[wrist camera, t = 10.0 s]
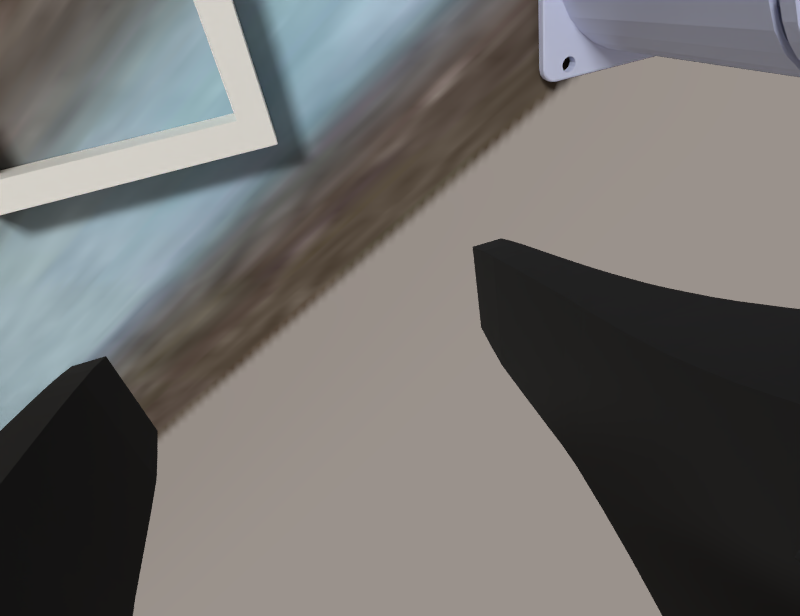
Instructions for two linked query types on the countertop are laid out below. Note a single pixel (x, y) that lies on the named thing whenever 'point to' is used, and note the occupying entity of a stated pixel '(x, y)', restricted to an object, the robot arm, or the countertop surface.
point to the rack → (164, 147)
